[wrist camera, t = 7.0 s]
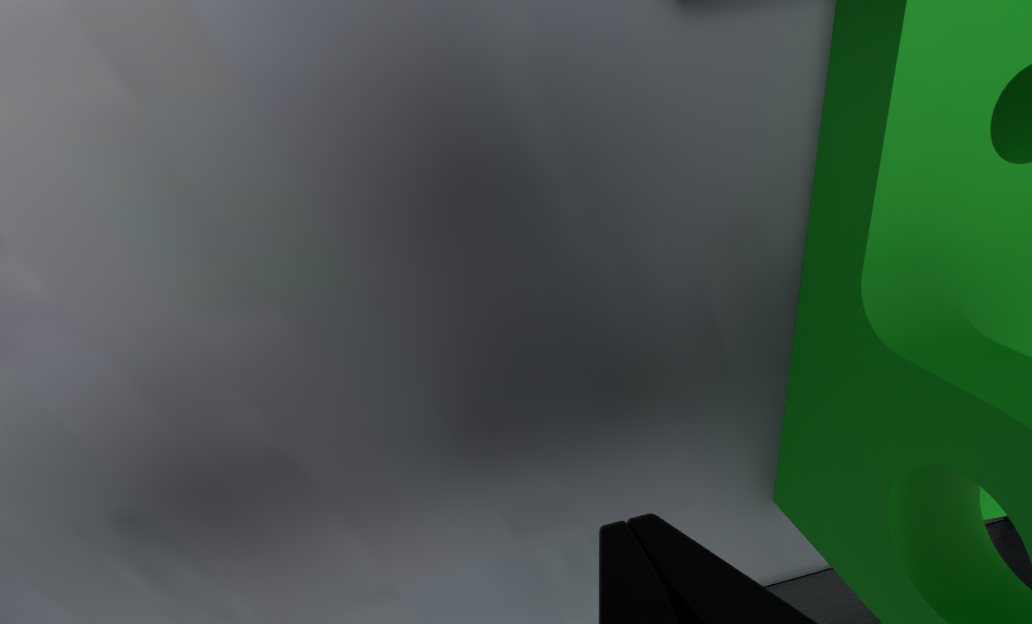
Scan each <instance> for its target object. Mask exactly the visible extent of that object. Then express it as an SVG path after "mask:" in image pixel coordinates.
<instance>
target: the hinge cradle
mask: <svg viewBox="0 0 1032 624" xmlns="http://www.w3.org/2000/svg"><path fill="white" fill-rule="evenodd" d="M985 527H986V529H987V532H988V534H989V536H990V538H991V541H992V543H993V544H994V546H995V548H996V550H997V551H998V553H999V554H1000V556H1001V557H1002V559H1003V560H1004V562H1005V563H1006V564H1007V566H1008V567H1009V568H1010V569H1011V570H1012V572H1013V573H1014V574H1015V575H1016V576H1017V577H1018V578H1019V579H1020V580H1021V581H1022V582H1023V583H1024V584H1025V585H1026V586H1027V587H1028V588H1030V589H1031V590H1032V564H1031V561H1030V558H1029V555H1028V553H1027V550H1026V548H1025V545H1024V543H1023V541H1022V539H1021V537H1020V535H1019V533H1018V532H1017V530H1016V528H1015V527H1014V525H1013V523H1012V522H1011V520H1010V519H1009V517H1008V516H1006V521H1002V522H999V523H995V524H991V525H988V526H985ZM766 589H767V590H769V591H770V592H772V593H773V594H775V595H776V596H778V597H779V598H781V599H782V600H784V601H785V602H787V603H788V604H790V605H791V606H793V607H794V608H796V609H797V610H799V611H800V612H802V613H803V614H805V615H806V616H808V617H809V618H811V619H812V620H814V621H815V622H817V623H818V624H882V623H881V622H880V620H879V619H878V618H877V617H876V616H875V615H874V614H873V613H872V611H871V610H870V609H869V608H868V607H867V606H866V605H865V604H864V602H863V601H862V600H861V599H860V598H859V597H858V596H857V595H856V593H855V592H854V591H853V590H852V589H851V588H850V587H849V586H848V584H847V583H846V582H845V581H844V580H843V579H842V578H841V577H840V575H839V574H838V573H837V572H836V571H835V570H834V569H831V570H827V571H824V572H820V573H817V574H813V575H809V576H806V577H802V578H799V579H795V580H792V581H788V582H784V583H781V584H777V585H774V586H770V587H767V588H766Z"/></svg>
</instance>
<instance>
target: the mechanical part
mask: <svg viewBox="0 0 1032 624" xmlns="http://www.w3.org/2000/svg"><path fill="white" fill-rule="evenodd" d="M773 501H774V502H775V504H776V505H777V506H778V507H779V508H780V509H781V510H782V511H783V513H784V514H785V515H786V516H787V517H788V518H789V519H790V520H791V522H792V523H793V524H794V525H795V526H796V527H797V528H798V529H799V531H800V532H801V533H802V534H803V535H804V536H805V537H806V538H807V540H808V541H809V542H810V543H811V544H812V545H813V546H814V547H815V549H816V550H817V551H818V552H819V553H820V554H821V555H822V556H823V558H824V559H825V560H826V561H827V562H828V563H829V564H830V565H831V567H832V568H833V569H834V570H835V571H836V572H837V573H838V574H839V575H840V577H841V578H842V579H843V580H844V581H845V582H846V583H847V584H848V586H849V587H850V588H851V589H852V590H853V591H854V592H855V593H856V595H857V596H858V597H859V598H860V599H861V600H862V601H863V602H864V604H865V605H866V606H867V607H868V608H869V609H870V610H871V611H872V613H873V614H874V615H875V616H876V617H877V618H878V619H879V620H880V622H881V623H882V624H1032V590H1031V589H1030V588H1028V587H1027V586H1026V585H1025V584H1024V583H1023V582H1022V581H1021V580H1020V579H1019V578H1018V577H1017V576H1016V575H1015V574H1014V573H1013V572H1012V570H1011V569H1010V568H1009V567H1008V566H1007V564H1006V563H1005V562H1004V560H1003V559H1002V557H1001V556H1000V554H999V553H998V551H997V550H996V548H995V546H994V544H993V543H992V541H991V538H990V536H989V534H988V532H987V529H986V527H985V524H984V520H987V519H993V518H998V517H1004V516H1008V517H1009V519H1010V520H1011V522H1012V523H1013V525H1014V527H1015V528H1016V530H1017V532H1018V533H1019V535H1020V537H1021V539H1022V541H1023V543H1024V545H1025V548H1026V550H1027V553H1028V555H1029V558H1030V561H1031V564H1032V0H837V1H836V9H835V17H834V24H833V32H832V40H831V48H830V56H829V64H828V72H827V80H826V88H825V96H824V104H823V111H822V119H821V127H820V135H819V143H818V151H817V159H816V167H815V175H814V183H813V191H812V199H811V206H810V214H809V222H808V230H807V238H806V246H805V254H804V262H803V270H802V278H801V286H800V293H799V301H798V309H797V317H796V325H795V333H794V341H793V349H792V357H791V365H790V373H789V381H788V388H787V396H786V404H785V412H784V420H783V428H782V436H781V444H780V452H779V460H778V468H777V475H776V483H775V491H774V499H773Z"/></svg>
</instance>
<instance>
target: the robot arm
mask: <svg viewBox="0 0 1032 624" xmlns="http://www.w3.org/2000/svg"><path fill="white" fill-rule="evenodd" d="M599 624H818V623H817V622H815V621H814V620H812V619H811V618H809V617H808V616H806V615H805V614H803V613H802V612H800V611H799V610H797V609H796V608H794V607H793V606H791V605H790V604H788V603H787V602H785V601H784V600H782V599H781V598H779V597H778V596H776V595H775V594H773V593H772V592H770V591H769V590H767V589H766V588H764V587H763V586H761V585H760V584H758V583H757V582H755V581H754V580H752V579H751V578H749V577H748V576H746V575H745V574H743V573H742V572H740V571H739V570H738V569H736V568H735V567H733V566H732V565H730V564H729V563H727V562H726V561H724V560H723V559H721V558H720V557H718V556H717V555H715V554H714V553H712V552H711V551H709V550H708V549H706V548H705V547H703V546H702V545H700V544H699V543H697V542H696V541H694V540H693V539H691V538H690V537H688V536H687V535H685V534H684V533H682V532H681V531H679V530H678V529H676V528H675V527H673V526H672V525H670V524H669V523H667V522H666V521H664V520H663V519H661V518H660V517H658V516H657V515H655V514H652V513H649V514H645V515H641V516H637V517H634V518H630V519H629V520H628V521H627V523H626V522H625V521H618V522H615V523H611V524H607V525H603V526H601V527H600V531H599Z"/></svg>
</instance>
